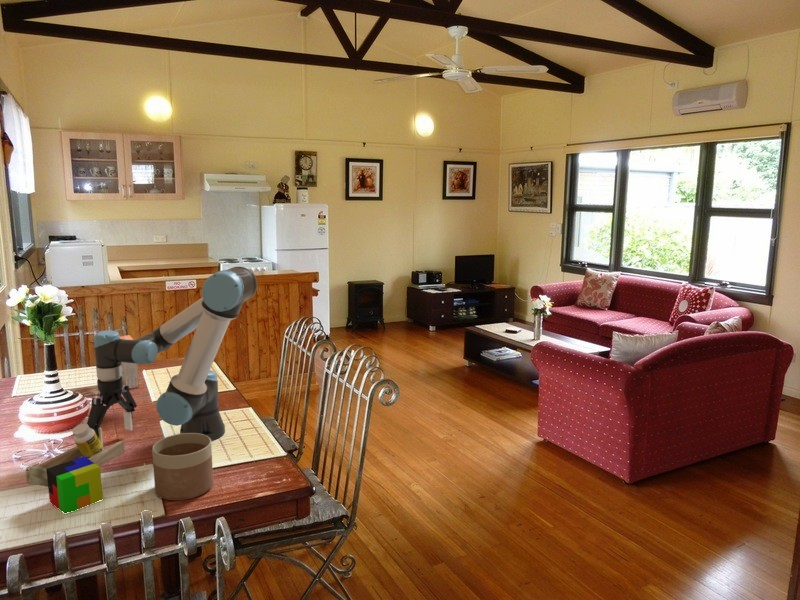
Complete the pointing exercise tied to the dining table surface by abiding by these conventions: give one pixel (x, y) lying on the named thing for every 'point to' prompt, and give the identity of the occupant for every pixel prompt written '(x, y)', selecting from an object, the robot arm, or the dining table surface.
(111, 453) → the guide channel
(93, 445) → the pill bottle
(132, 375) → the cracker box
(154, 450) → the planter
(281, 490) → the dining table surface
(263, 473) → the dining table surface
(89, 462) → the puzzle toy
